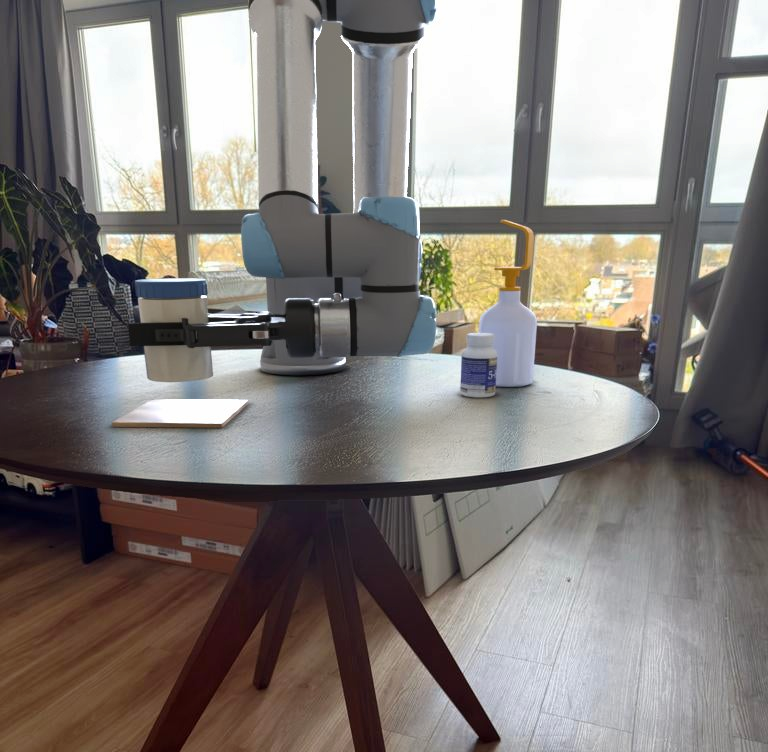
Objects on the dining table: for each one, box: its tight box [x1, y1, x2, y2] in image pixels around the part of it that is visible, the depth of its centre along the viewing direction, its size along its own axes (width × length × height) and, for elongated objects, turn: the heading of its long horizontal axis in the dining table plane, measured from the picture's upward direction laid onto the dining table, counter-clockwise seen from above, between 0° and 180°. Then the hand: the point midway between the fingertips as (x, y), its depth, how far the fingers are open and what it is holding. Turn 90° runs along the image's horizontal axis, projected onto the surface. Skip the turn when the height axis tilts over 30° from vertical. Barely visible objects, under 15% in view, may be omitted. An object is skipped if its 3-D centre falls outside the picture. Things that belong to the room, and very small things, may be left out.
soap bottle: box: [478, 219, 538, 388], centre depth 113 cm, size 9×9×25 cm
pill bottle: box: [459, 332, 497, 398], centre depth 107 cm, size 5×5×9 cm
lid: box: [134, 277, 209, 298], centre depth 91 cm, size 9×9×2 cm
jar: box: [137, 295, 214, 383], centre depth 93 cm, size 8×8×12 cm
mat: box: [111, 398, 249, 429], centre depth 97 cm, size 14×14×1 cm
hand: (138, 330), depth 92 cm, fingers closed on jar, 8 cm apart
